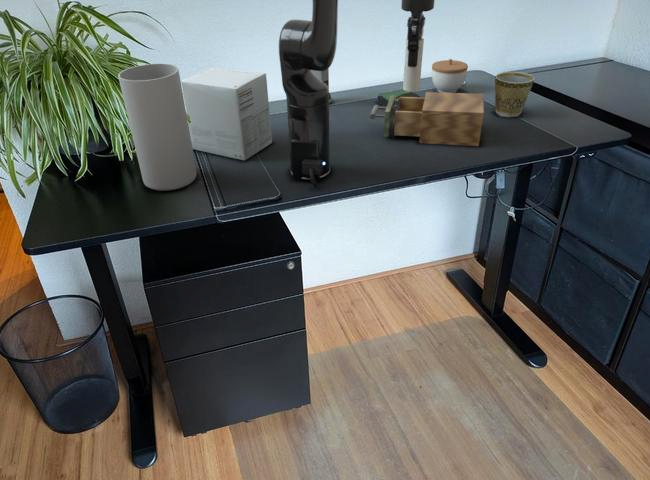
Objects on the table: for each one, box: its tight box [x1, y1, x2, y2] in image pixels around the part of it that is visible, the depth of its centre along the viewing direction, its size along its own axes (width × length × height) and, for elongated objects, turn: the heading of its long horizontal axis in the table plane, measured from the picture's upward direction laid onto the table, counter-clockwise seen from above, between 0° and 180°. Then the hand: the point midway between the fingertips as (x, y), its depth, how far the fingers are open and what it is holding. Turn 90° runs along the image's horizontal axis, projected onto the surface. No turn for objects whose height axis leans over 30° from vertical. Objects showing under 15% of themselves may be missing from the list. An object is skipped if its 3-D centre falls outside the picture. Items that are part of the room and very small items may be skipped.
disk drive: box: [377, 89, 423, 115], centre depth 160 cm, size 10×3×15 cm
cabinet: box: [418, 91, 485, 147], centre depth 141 cm, size 15×14×9 cm
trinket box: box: [431, 58, 469, 93], centre depth 169 cm, size 11×11×9 cm
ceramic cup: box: [494, 71, 535, 118], centre depth 151 cm, size 13×10×10 cm
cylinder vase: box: [117, 63, 197, 192], centre depth 122 cm, size 12×12×25 cm
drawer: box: [369, 95, 425, 138], centre depth 144 cm, size 18×13×7 cm
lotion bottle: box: [402, 37, 425, 93], centre depth 135 cm, size 4×4×14 cm
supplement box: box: [180, 67, 273, 161], centre depth 138 cm, size 17×13×18 cm
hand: (413, 63), depth 135 cm, fingers closed on lotion bottle, 4 cm apart
